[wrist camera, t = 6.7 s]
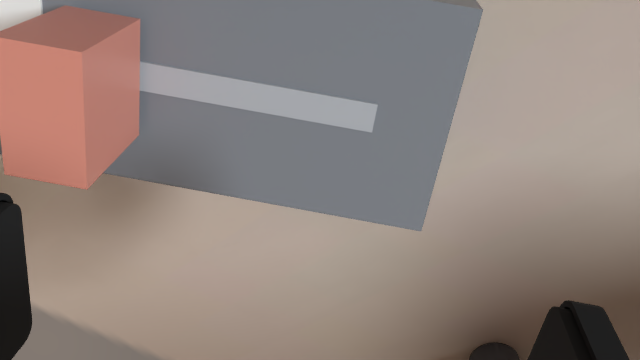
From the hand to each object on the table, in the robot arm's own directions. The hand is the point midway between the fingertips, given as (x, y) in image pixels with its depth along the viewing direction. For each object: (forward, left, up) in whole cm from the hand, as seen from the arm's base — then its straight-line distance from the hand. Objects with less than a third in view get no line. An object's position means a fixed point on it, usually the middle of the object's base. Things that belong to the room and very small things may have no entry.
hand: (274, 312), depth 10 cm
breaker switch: (+7, 0, -10) cm, 12 cm away
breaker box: (+4, 0, -14) cm, 15 cm away
